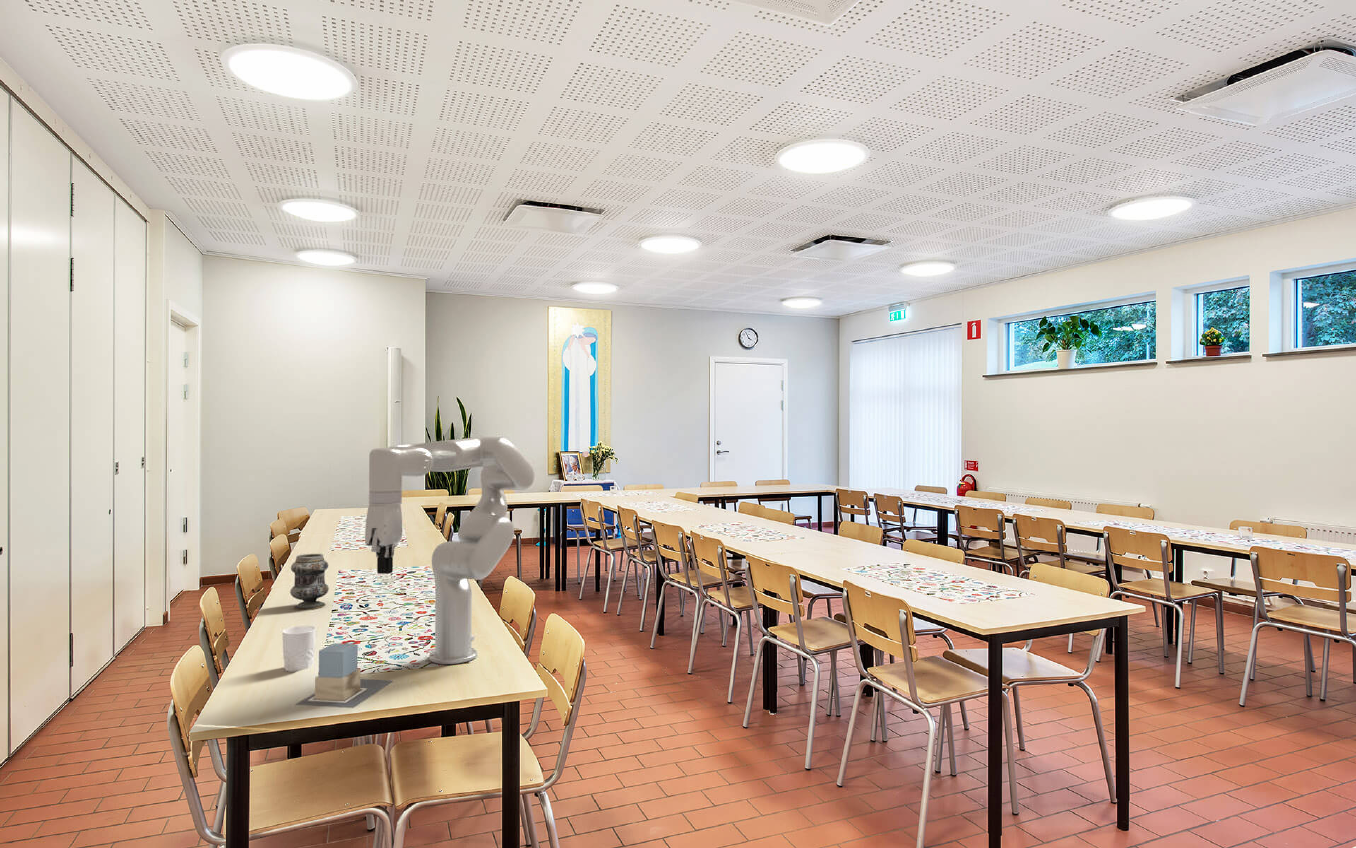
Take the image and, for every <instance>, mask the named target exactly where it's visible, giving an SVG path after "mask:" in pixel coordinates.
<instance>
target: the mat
mask: <svg viewBox="0 0 1356 848" xmlns="http://www.w3.org/2000/svg"><path fill="white" fill-rule="evenodd" d="M393 682H394V680H388V679H387V680H385V679H370V678H369V679H367V678H365V679H364V678H360V691H358V692H357V693H355V694H354V695H352V696H351V697H349V698H347V699H346V700H344V701H336V700H318V699H315V692H314V693H313V694H310V695H309V696H307V697H305V698H304V699H302V700H300V701H298V702H297V703H295V706H296V705H297V706H312V707H314V706H317V707H331V708H332V707H334V708H351V709H353V708H355V707H357V706H359V705H360V704H361V703H364V702H365V701H366V700H368V699H369V698H371V697H372V696H373V695H375V694H377V693H378V692H379V691H381V690H383V689H384V688H385V687H387V686H388V685H390V684H392V683H393Z"/></svg>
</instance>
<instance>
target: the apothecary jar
mask: <svg viewBox="0 0 1356 848" xmlns="http://www.w3.org/2000/svg"><path fill="white" fill-rule="evenodd" d="M328 568H329V562H328V561H326V560H325V558H324V554H322V553H304V554H303V553H302V554H299V555H296V558H295V561H294V562H293V563H292V564H291V565H290V570H291V571H292V572H293V574H294V584H293V586H292V587H291V589H290V591H289V592H290V595H291V596H292V598H294V599H296V600H301V601H302V602H299V603H297V604H295V605H294V607H293V609H294V610H297V609H300V610H299V611H307V609H310V610H315V609H321V608H323V606H324V607H325V606H326V603H325V602H323V601H320V600H318V599H320V598H322V597H324V596H326V595H327V594H328V593H329V590H330V589H329V586H328V584H327V583H326V577H325V575H326V574H325V573H326V570H327V569H328Z"/></svg>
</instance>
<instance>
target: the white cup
mask: <svg viewBox="0 0 1356 848" xmlns="http://www.w3.org/2000/svg"><path fill="white" fill-rule="evenodd" d="M281 632H282V651H283V655H282V657H283V663H284V664H283V665H284V667H283V668H284V671H286V672H290V673H291V672H292V673H293V672H298V671H303V670H306V669H309V668H311V667H313V666H314V665H315V664H314V663H315V662H314V661H315V653H316V640H317V639H316V637H317V636H316V635H317V627H315V626H313V625H298V626H296V625H295V626H292V627H288V628H285V629H283V630H282V631H281Z"/></svg>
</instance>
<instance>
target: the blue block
mask: <svg viewBox="0 0 1356 848" xmlns="http://www.w3.org/2000/svg"><path fill="white" fill-rule="evenodd" d="M358 646H359V645H358V644H356V643H335V642H334V643H332V644H330V645H327V646H325V647H324V648H322V649H320V650H318V676H319V677H332V678H344V677H346V676H347V675H349V674H351V673H353V672H354V671H356V670H357V669H358V664H359V663H358V658H359V657H358Z"/></svg>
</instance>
